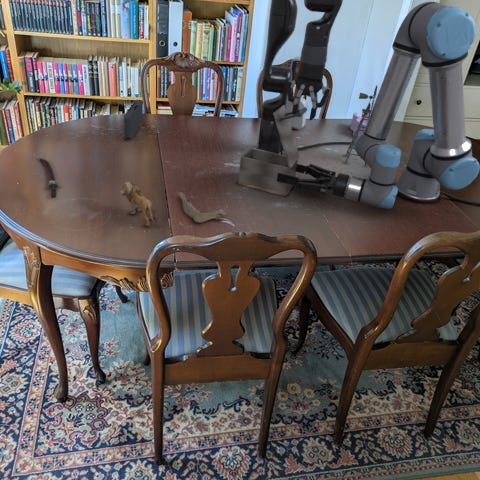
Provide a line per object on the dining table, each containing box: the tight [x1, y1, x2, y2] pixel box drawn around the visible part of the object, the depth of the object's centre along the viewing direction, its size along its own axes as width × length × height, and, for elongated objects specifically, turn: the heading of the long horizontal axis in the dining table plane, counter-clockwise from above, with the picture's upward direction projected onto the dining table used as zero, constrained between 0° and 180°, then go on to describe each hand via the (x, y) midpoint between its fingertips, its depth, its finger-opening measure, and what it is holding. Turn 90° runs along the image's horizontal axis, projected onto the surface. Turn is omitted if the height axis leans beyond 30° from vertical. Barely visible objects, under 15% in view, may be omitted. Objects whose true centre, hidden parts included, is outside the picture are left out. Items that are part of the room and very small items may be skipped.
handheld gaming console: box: [123, 99, 144, 141], centre depth 190 cm, size 23×3×10 cm, turn 178°
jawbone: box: [177, 191, 228, 224], centre depth 141 cm, size 9×20×2 cm, turn 50°
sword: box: [40, 158, 59, 198], centre depth 151 cm, size 31×3×1 cm, turn 26°
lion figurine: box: [119, 181, 159, 227], centre depth 134 cm, size 15×5×9 cm, turn 50°
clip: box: [349, 112, 369, 137], centre depth 214 cm, size 20×12×7 cm, turn 11°
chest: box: [237, 147, 299, 197], centre depth 159 cm, size 17×10×10 cm, turn 68°
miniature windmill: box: [345, 85, 378, 167], centre depth 179 cm, size 9×8×30 cm
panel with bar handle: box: [273, 105, 308, 168], centre depth 149 cm, size 18×10×8 cm
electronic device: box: [286, 56, 308, 131], centre depth 208 cm, size 12×8×30 cm, turn 71°
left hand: (303, 117), depth 146 cm, fingers open, 4 cm apart
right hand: (282, 171), depth 157 cm, fingers closed on chest, 10 cm apart
